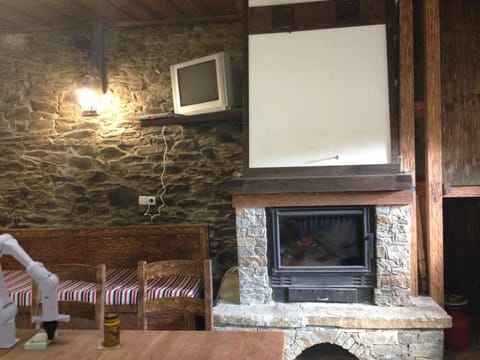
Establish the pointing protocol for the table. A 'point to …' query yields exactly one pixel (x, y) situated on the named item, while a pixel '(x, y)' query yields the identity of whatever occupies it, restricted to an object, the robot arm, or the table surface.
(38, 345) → the box
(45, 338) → the cream square block
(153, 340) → the table surface
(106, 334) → the condiment
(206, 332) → the table surface
